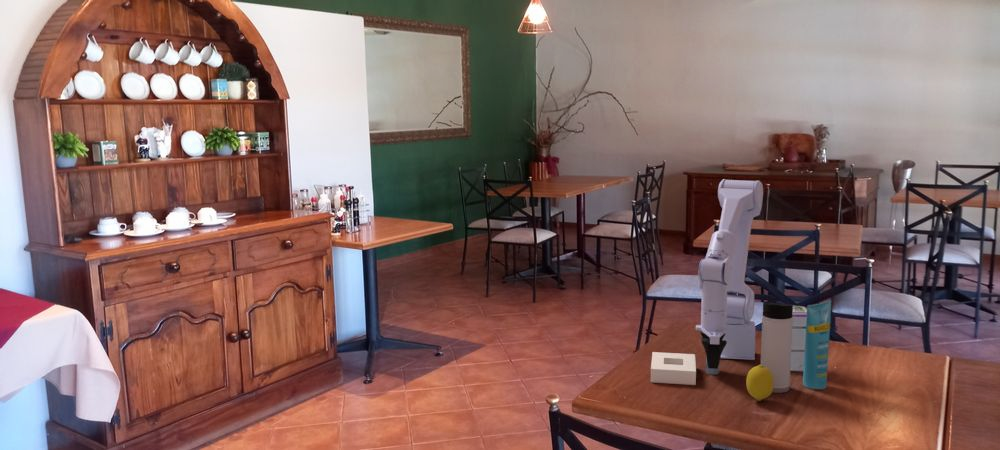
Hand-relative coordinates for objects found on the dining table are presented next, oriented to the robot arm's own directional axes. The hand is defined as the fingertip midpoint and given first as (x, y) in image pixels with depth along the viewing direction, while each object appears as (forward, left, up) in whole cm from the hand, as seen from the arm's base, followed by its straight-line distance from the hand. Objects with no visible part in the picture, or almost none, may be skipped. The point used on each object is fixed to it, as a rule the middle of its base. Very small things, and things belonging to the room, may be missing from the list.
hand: (712, 364), depth 180 cm
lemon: (-9, +16, -2) cm, 18 cm away
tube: (-22, +5, -2) cm, 23 cm away
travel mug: (-13, +8, -2) cm, 15 cm away
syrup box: (-19, -7, -2) cm, 20 cm away
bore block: (+9, +3, -2) cm, 10 cm away
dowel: (0, 0, -2) cm, 2 cm away
